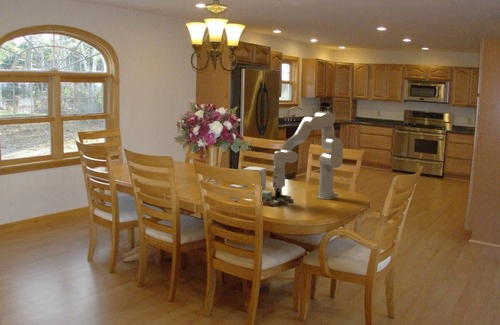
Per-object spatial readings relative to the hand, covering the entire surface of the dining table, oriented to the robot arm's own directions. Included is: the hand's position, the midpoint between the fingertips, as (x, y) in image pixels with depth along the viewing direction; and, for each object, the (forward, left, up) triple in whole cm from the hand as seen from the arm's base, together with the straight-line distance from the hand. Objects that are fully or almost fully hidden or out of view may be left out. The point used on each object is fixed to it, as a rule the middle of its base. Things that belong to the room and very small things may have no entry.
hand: (277, 197), depth 323 cm
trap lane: (+2, 0, -3) cm, 4 cm away
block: (+9, 0, -3) cm, 10 cm away
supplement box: (+27, -17, -3) cm, 32 cm away
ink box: (+21, +19, -3) cm, 28 cm away
